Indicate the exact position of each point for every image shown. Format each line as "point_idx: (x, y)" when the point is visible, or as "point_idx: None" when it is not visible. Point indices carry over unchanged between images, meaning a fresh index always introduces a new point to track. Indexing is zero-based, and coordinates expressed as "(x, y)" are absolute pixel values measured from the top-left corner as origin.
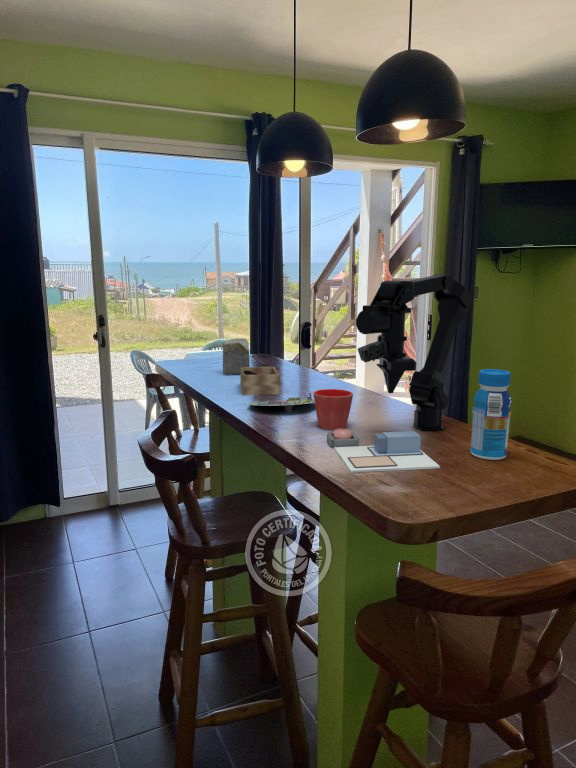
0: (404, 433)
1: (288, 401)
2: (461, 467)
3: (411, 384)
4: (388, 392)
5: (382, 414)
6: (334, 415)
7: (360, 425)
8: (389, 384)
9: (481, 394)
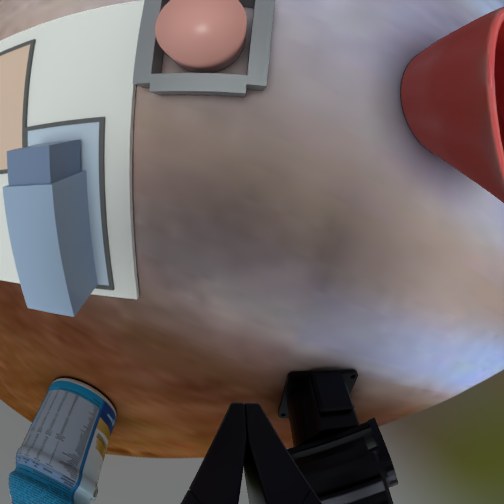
0: (43, 269)
1: None
2: (5, 319)
3: (369, 485)
4: (242, 403)
5: (472, 319)
6: (428, 69)
7: (424, 210)
8: (200, 466)
9: (17, 495)
